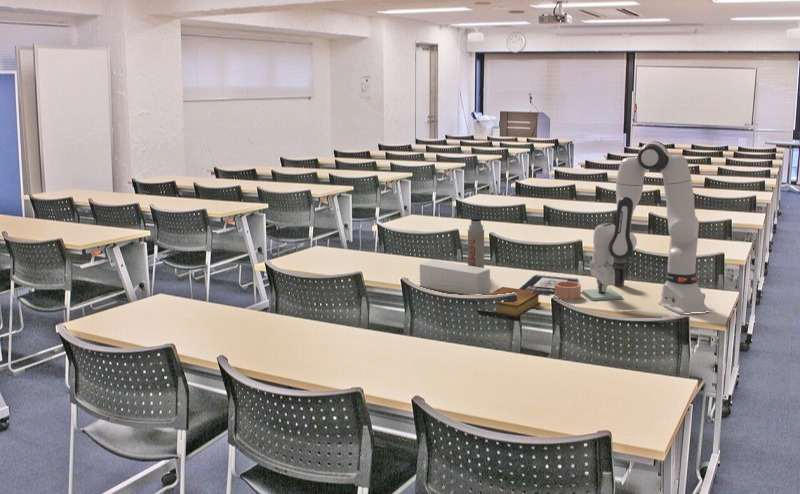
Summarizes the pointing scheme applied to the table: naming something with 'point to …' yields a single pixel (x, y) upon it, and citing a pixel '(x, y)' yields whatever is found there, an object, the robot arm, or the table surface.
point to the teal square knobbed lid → (601, 294)
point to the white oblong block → (454, 277)
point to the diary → (517, 302)
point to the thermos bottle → (476, 243)
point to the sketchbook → (544, 284)
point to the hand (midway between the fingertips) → (601, 290)
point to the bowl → (567, 290)
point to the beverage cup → (619, 271)
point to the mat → (599, 300)
